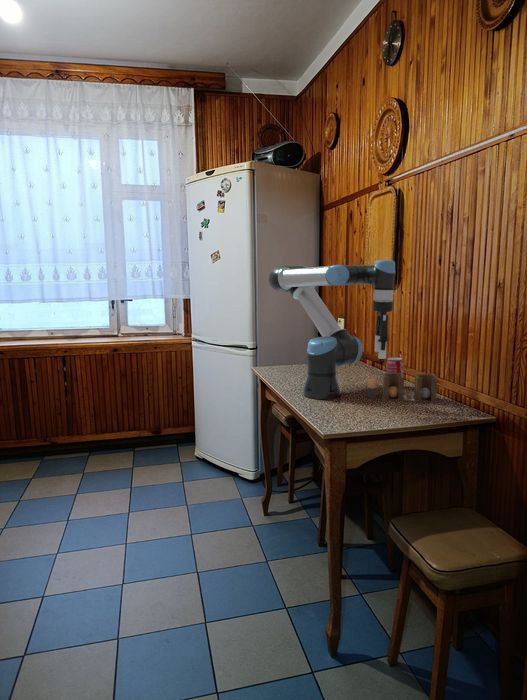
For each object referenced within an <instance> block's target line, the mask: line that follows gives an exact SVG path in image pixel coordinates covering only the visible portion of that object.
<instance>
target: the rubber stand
mask: <svg viewBox="0 0 527 700" xmlns="http://www.w3.org/2000/svg"><path fill="white" fill-rule="evenodd" d="M376 397H377V387H376V388H375V389H369V388H368V387H367V398H369V399H370V398H371V399H376Z"/></svg>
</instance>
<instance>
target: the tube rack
mask: <svg viewBox="0 0 527 700" xmlns="http://www.w3.org/2000/svg"><path fill="white" fill-rule="evenodd" d="M382 375H383V377H382V378H383V379H382V394H381V398H382V400H383V401H404V402H405V401H406V402H407V401H408V402H426V403H428V402H431V403H432V402H433V403H437V402H438V401H437V395H438V394H437V392H438V391H437V390H438V389H437V388H438V377H437V376H436V375H435V374H433V373H432V374H431V373H414V384H413V385H414V387H413V395H404V388H405V387H404V385H405V384H404V383H405V377H404V373H403V374H402V373H386V372H383V374H382ZM392 386H393V387H396V388H397V389H398V396H397V397H395V398H391V397H389V387H392ZM422 388H428V389H429V390H430V391H431V396H430V397H429V398H428V399H423V398H421V394H422Z"/></svg>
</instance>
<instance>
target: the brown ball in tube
mask: <svg viewBox="0 0 527 700" xmlns="http://www.w3.org/2000/svg"><path fill="white" fill-rule="evenodd" d="M397 396H398V389H397V388H396V387H393V386H392V387H389V397H391V398H395V397H397Z"/></svg>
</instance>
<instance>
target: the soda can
mask: <svg viewBox="0 0 527 700" xmlns="http://www.w3.org/2000/svg"><path fill="white" fill-rule="evenodd" d="M386 358H387V360H386V361H385V373H402V374H403V375H404V361H403V358H402V357H393V356H392V357H386Z"/></svg>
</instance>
